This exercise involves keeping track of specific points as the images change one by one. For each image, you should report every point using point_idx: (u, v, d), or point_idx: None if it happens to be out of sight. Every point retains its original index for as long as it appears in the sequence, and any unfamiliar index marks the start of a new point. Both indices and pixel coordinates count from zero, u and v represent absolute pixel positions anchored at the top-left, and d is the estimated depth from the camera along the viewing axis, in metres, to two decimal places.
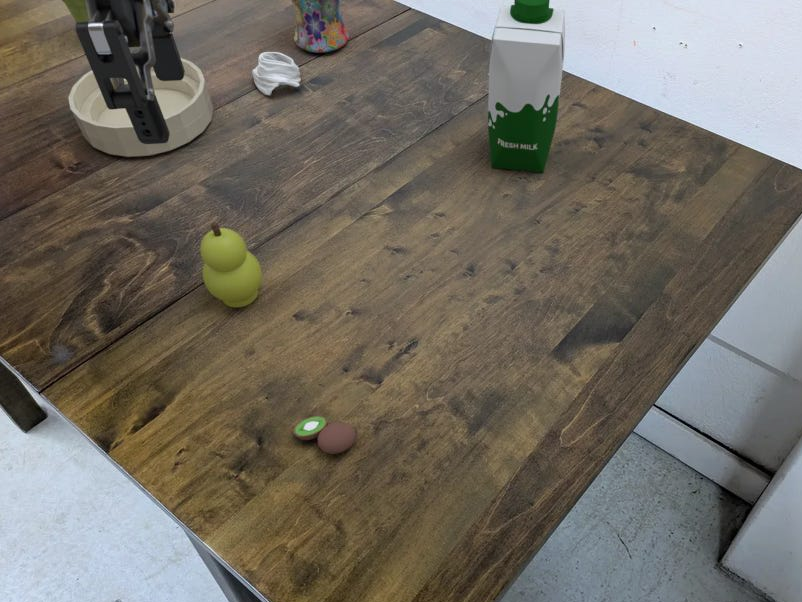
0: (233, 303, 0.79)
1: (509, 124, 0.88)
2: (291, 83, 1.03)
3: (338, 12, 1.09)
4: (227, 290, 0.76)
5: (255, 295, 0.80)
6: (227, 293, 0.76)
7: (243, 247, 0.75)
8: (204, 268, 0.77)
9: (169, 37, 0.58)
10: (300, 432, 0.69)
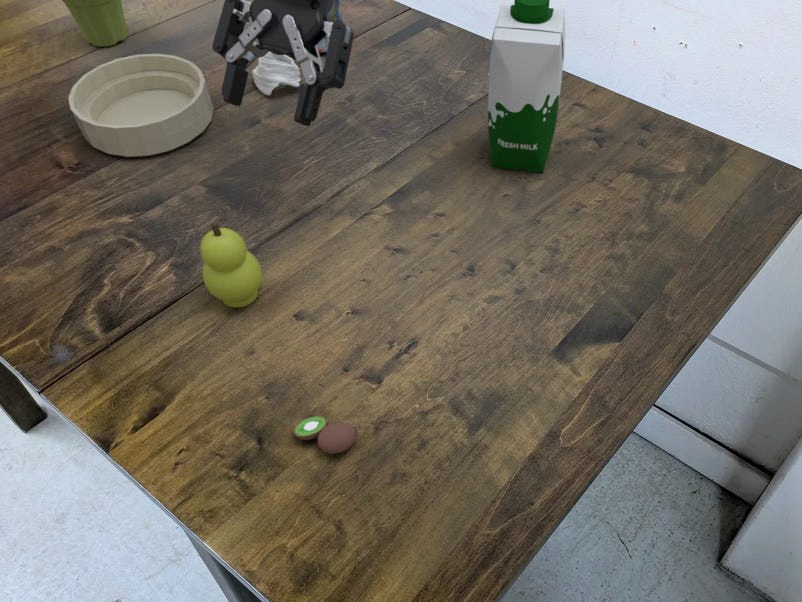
0: (233, 303, 0.79)
1: (509, 124, 0.88)
2: (291, 83, 1.03)
3: (338, 12, 1.09)
4: (227, 290, 0.76)
5: (255, 295, 0.80)
6: (227, 293, 0.76)
7: (243, 247, 0.75)
8: (204, 268, 0.77)
9: None
10: (300, 432, 0.69)
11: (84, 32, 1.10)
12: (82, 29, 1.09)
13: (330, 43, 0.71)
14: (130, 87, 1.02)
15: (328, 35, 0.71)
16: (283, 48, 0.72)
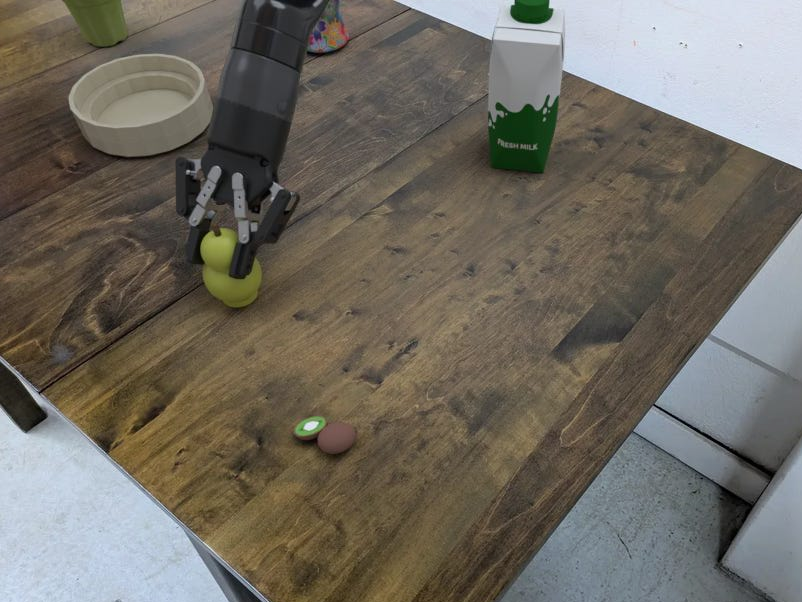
0: (233, 303, 0.79)
1: (509, 124, 0.88)
2: None
3: (338, 12, 1.09)
4: (227, 290, 0.76)
5: (255, 296, 0.80)
6: (227, 293, 0.76)
7: None
8: (204, 268, 0.77)
9: (237, 242, 0.73)
10: (300, 432, 0.69)
11: (84, 32, 1.10)
12: (82, 29, 1.09)
13: (271, 207, 0.72)
14: (130, 87, 1.02)
15: (271, 199, 0.72)
16: (233, 202, 0.73)
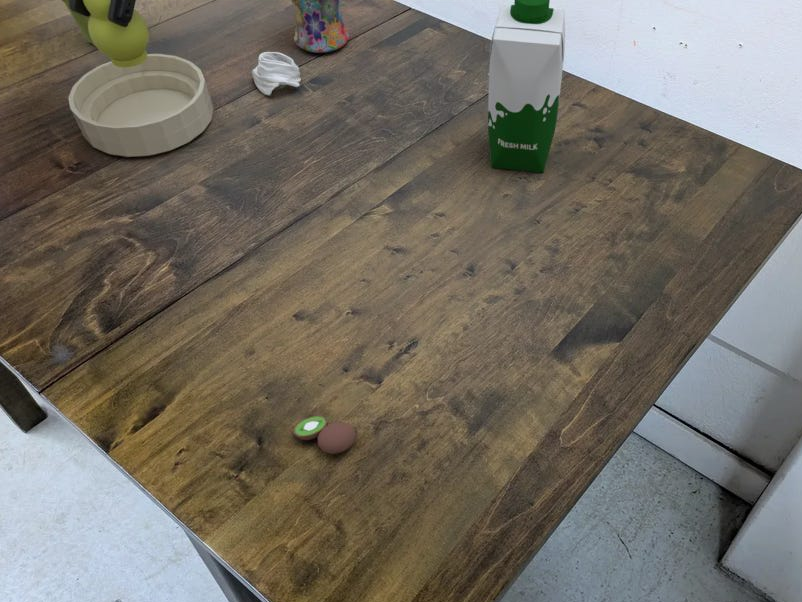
0: (120, 62, 0.82)
1: (509, 124, 0.88)
2: (291, 83, 1.03)
3: (338, 12, 1.09)
4: (110, 39, 0.79)
5: (143, 58, 0.83)
6: (111, 43, 0.79)
7: None
8: (89, 19, 0.79)
9: None
10: (300, 432, 0.69)
11: (84, 32, 1.10)
12: (82, 29, 1.09)
13: None
14: (130, 87, 1.02)
15: None
16: None
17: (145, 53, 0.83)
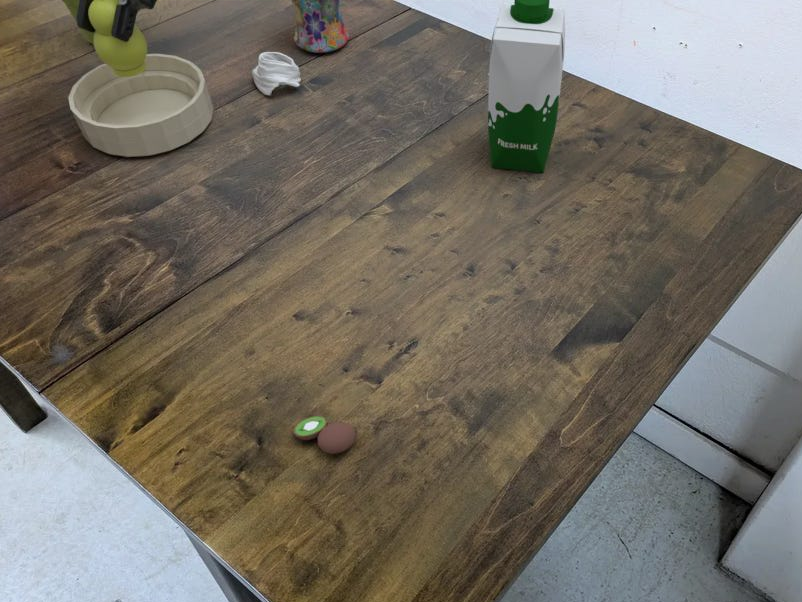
0: (122, 72, 0.92)
1: (509, 124, 0.88)
2: (291, 83, 1.03)
3: (338, 12, 1.09)
4: (113, 52, 0.89)
5: (142, 68, 0.93)
6: (114, 56, 0.90)
7: None
8: (94, 35, 0.90)
9: (118, 5, 0.86)
10: (300, 432, 0.69)
11: (84, 32, 1.10)
12: (82, 29, 1.09)
13: None
14: (130, 87, 1.02)
15: None
16: None
17: (144, 64, 0.94)
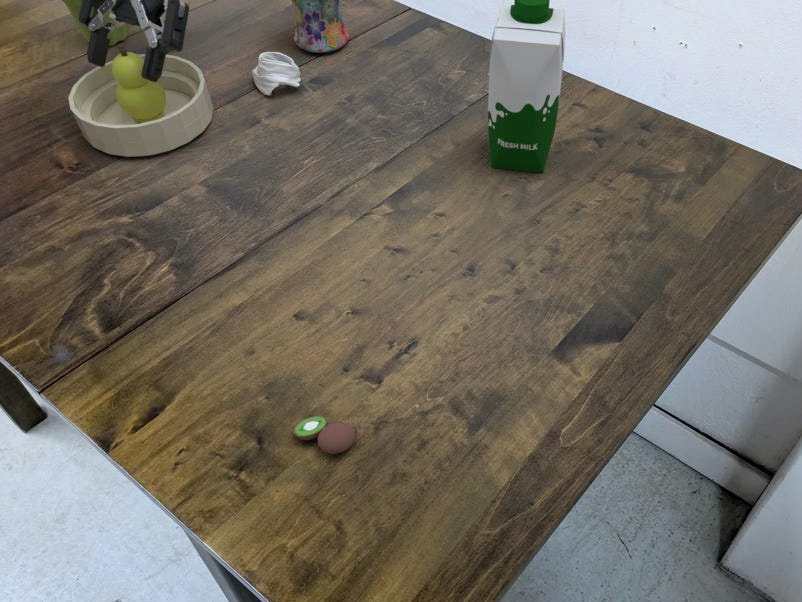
0: (142, 121, 0.98)
1: (509, 124, 0.88)
2: (291, 83, 1.03)
3: (338, 12, 1.09)
4: (135, 104, 0.95)
5: (161, 117, 0.99)
6: (135, 107, 0.95)
7: None
8: (116, 87, 0.95)
9: (148, 48, 0.91)
10: (300, 432, 0.69)
11: (84, 32, 1.10)
12: (82, 29, 1.09)
13: (167, 14, 0.89)
14: None
15: (165, 8, 0.89)
16: (132, 19, 0.91)
17: (162, 112, 1.00)
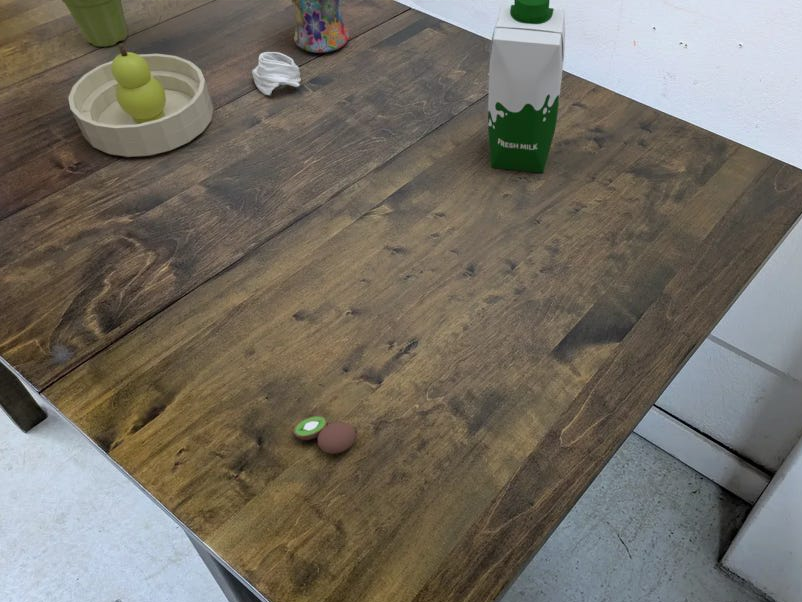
0: (142, 121, 0.98)
1: (509, 124, 0.88)
2: (291, 83, 1.03)
3: (338, 12, 1.09)
4: (135, 104, 0.95)
5: (161, 117, 0.99)
6: (135, 107, 0.95)
7: (146, 68, 0.94)
8: (116, 87, 0.95)
9: None
10: (300, 432, 0.69)
11: (84, 32, 1.10)
12: (82, 29, 1.09)
13: None
14: None
15: None
16: None
17: (162, 112, 1.00)
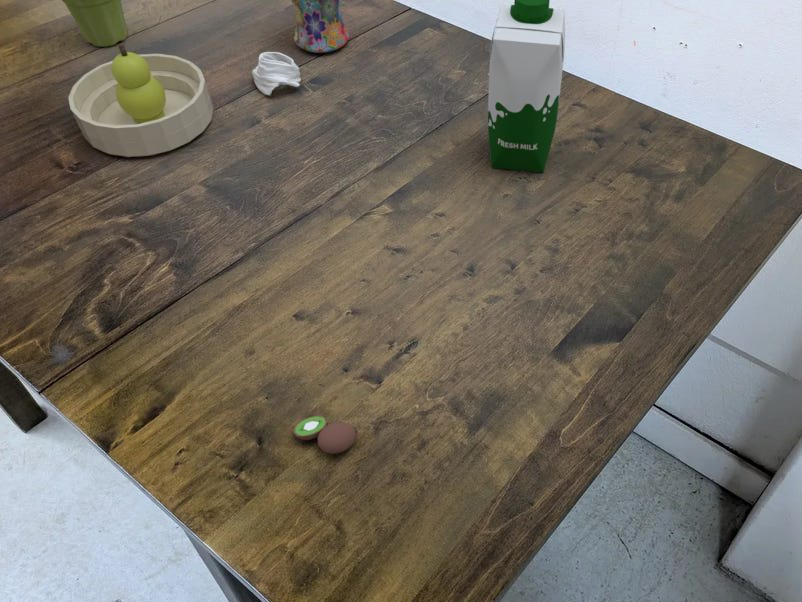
0: (142, 121, 0.98)
1: (509, 124, 0.88)
2: (291, 83, 1.03)
3: (338, 12, 1.09)
4: (135, 104, 0.95)
5: (161, 117, 0.99)
6: (135, 107, 0.95)
7: (146, 68, 0.94)
8: (116, 87, 0.95)
9: None
10: (300, 432, 0.69)
11: (84, 32, 1.10)
12: (82, 29, 1.09)
13: None
14: None
15: None
16: None
17: (162, 112, 1.00)
